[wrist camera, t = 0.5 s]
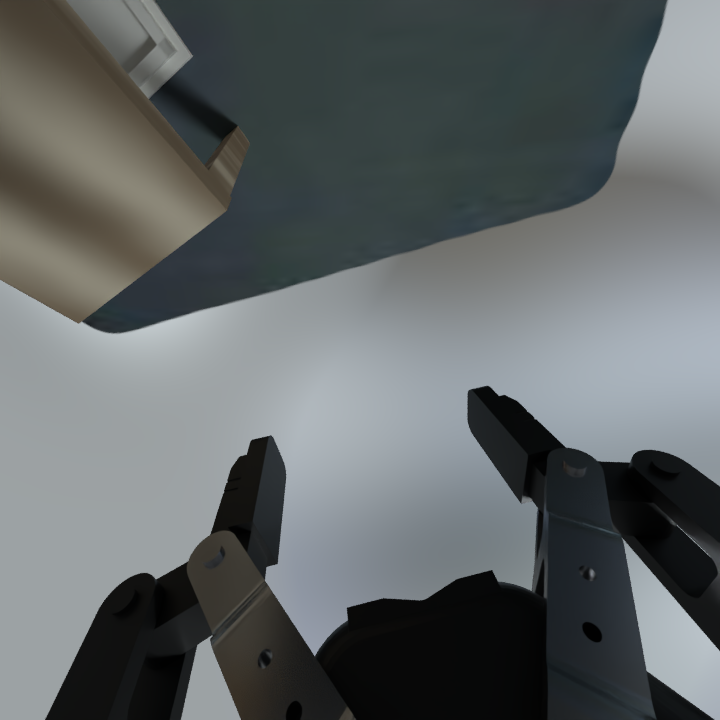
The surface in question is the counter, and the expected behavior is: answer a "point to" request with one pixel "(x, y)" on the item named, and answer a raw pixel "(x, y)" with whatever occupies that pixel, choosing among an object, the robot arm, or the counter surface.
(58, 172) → the small wooden table
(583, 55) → the counter surface
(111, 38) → the tray
